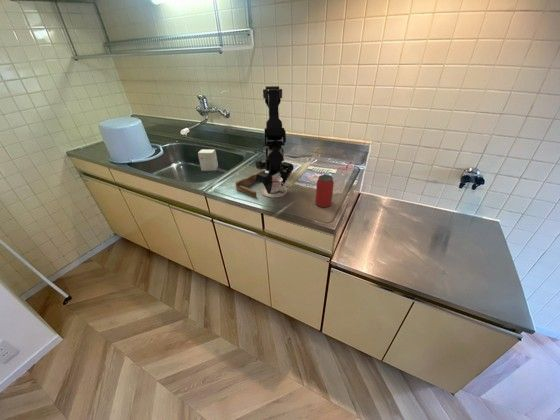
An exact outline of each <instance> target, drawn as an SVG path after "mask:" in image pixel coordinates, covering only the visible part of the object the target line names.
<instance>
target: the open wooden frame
mask: <svg viewBox="0 0 560 420" xmlns="http://www.w3.org/2000/svg"><path fill="white" fill-rule="evenodd" d="M261 172H265V173H266V170H265V169H262V170H260V171H257V172H255V173H252V174H250V175H247V176H245V177H243V178H241V179H238V180H237V181H235V190H237V191H238V192H241V193H243V194H245V195H248V196H250V197H251V198H257V191H255V190H253V189H250V188H249V187H248V186H250V185H252V184H254V183H255V182H257V181H256V175H257V174H259V173H261Z"/></svg>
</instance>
